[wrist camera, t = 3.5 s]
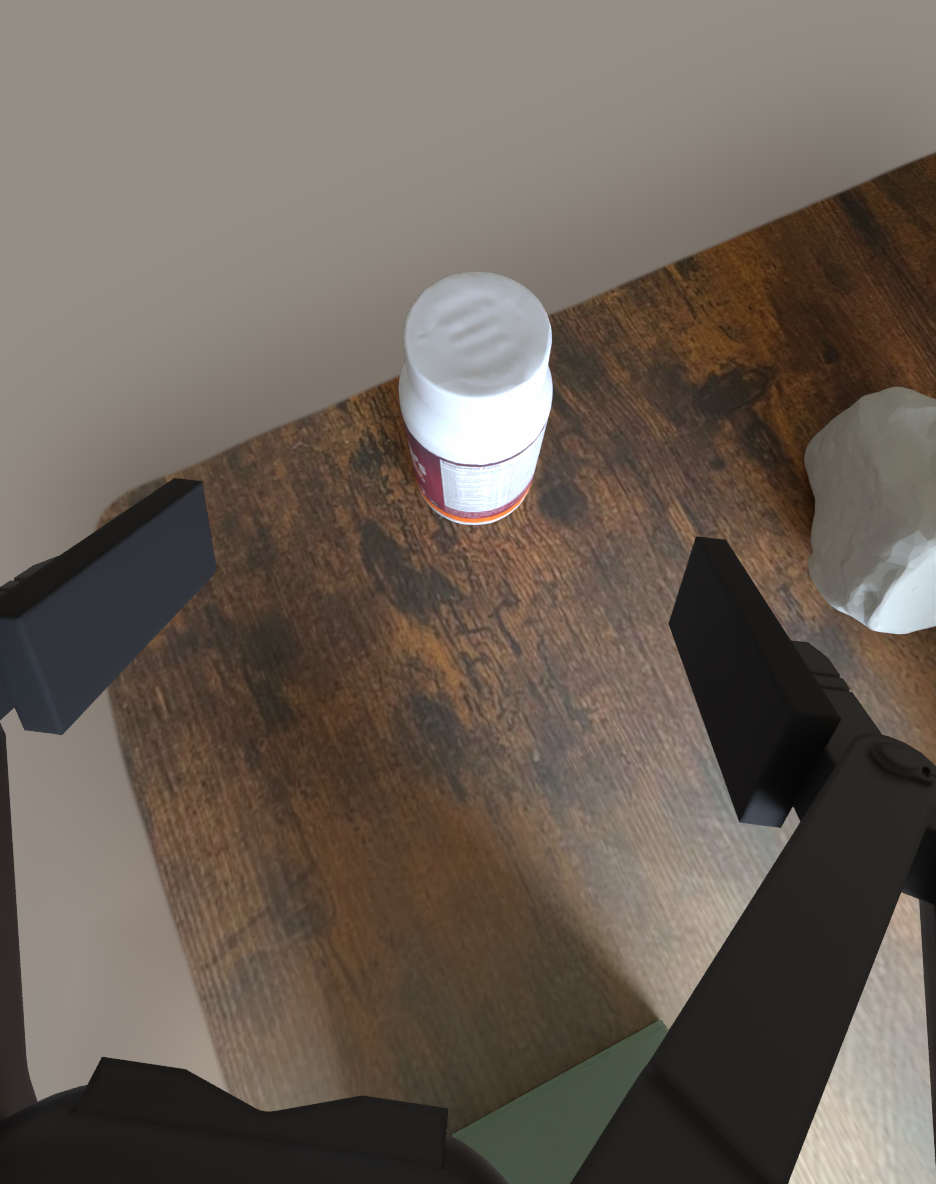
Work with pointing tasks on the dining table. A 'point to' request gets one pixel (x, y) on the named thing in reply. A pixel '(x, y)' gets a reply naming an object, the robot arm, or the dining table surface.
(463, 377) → the pill bottle
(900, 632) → the decorative stone
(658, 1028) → the bin
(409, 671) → the dining table surface
